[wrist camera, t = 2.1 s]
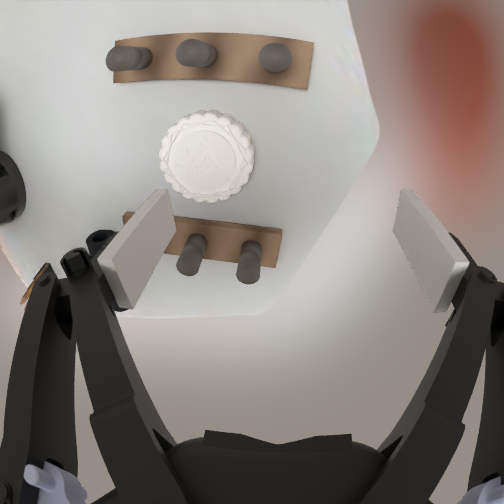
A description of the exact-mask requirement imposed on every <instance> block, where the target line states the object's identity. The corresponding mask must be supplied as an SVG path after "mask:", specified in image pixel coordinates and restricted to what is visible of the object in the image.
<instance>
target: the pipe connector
mask: <svg viewBox="0 0 504 504" xmlns="http://www.w3.org/2000/svg"><path fill="white" fill-rule="evenodd" d="M112 235H114V233H113V231H112V230H98V231H96V232H94V233H92V234H91V235H90V236H89V237H88V238H87V240H86V243H87V246H88V249H89V252H90V255H91V257H89V258H90V260H92V259H93V257H94V256H95V255H96V253H97V252H98V251H99V250H101V247H102V246H103V245H105V242H106V241H107V240H108V239H109V238H110V237H111V236H112ZM111 305H112V307H113V309H114V310H115V311H118V312H122V311H126V310H128V308H119V306H118V304H117V302H116V300H115V299H114V300H113V302H112V304H111Z"/></svg>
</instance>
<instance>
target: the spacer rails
mask: <svg viewBox="0 0 504 504" xmlns="http://www.w3.org/2000/svg"><path fill="white" fill-rule="evenodd" d="M313 45H314V43H313V42H308V41H302V40H296V39H289V38H282V37H274V36H265V35H254V34H239V33H179V34H165V35H154V36H145V37H137V38H130V39H124V40H118V41H115V47H114V48H112V49H111V50H110V51H109V52H108V54H107V57H106V65H107V67H108V69H110V70H111V71H114V78H113V83H120V82H130V81H143V80H161V79H215V80H233V81H246V82H257V83H266V84H274V85H281V86H288V87H295V88H301V89H307V87H308V80H309V73H310V66H311V59H312V52H313ZM134 214H135V212H126V213H125V214H124V215H123V223H124V225H125V224H126V223H127V222H128V220H129V219H130V218H131V217H132V216H133V215H134ZM174 221H175V225H176V232H175V234H174V235H173V237H172V239H171V240H170V242H169V244H168V246H167V247H166V249H165V251H164V253H165V254H173V255H180V257H179V259H178V261H177V264H176V267H177V269H178V271H179V272H180V273H181V274H183V275H185V276H194V275H195V274H197V272H198V270H199V267H200V264H201V261H202V258H203V259H210V260H218V261H226V262H233V263H238V268H237V273H236V276H237V279H238V280H239V281H240V282H242V283H244V284H253V283H255V282H257V281H258V280H259V277H260V266H265V267H273V268H276V263H277V258H278V253H279V248H280V243H281V238H282V229H276V228H269V227H261V226H253V225H245V224H237V223H229V222H220V221H212V220H203V219H194V218H185V217H176V216H174Z"/></svg>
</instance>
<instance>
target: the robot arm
mask: <svg viewBox="0 0 504 504" xmlns="http://www.w3.org/2000/svg"><path fill="white" fill-rule="evenodd" d="M24 207H25V188H24V184H23V180H22V177H21V175H20V172H19V170H18V168H17V166H16V165H15V163H14V162H13V160H12V159H11V158H10V157H9V156H8V155H6V154H5V153H3V152H0V226H3V225H5V224H8V223H11V222H13V221H14V220H15V219H16V218H18V217H19V216H20V215H21V214H22V212H23V210H24ZM175 232H176V225H175V221H174V216H173V212H172V207H171V202H170V198H169V193H168V189H161V190H155V191H154V192H153V194H152V195H151V196H150V197H149V198H148V199H147V200H146V201H145V202H144V203H143V205H142V206H141V207H140V208H139V209H138V210H137V211H136V212H135V214H134V215H133V216H132V217H131V218H130V219H129V220H128V222H127V223H126V224H125V225H124V226H123V228H122V229H121V230H120V231H119V232H116V233H115V234H114V235H112V236H111V237H110V238H109V239H108V240H107V241H106V242H105V245H103V246H102V247H101V250H99V251H98V252H97V253H96V255H95V256H94V257H93V259H92V260H90V258H89V256H88V253H87V251H86V250H85V249H84V248H76V249H73V250H71V251H69V252H68V253H66V254H65V255H64V256H63V257H62V259H61V261H60V264H61V266H62V268H63V270H64V272H65V274H66V276H67V278H63V279H59V280H58V278H57V276H56V274H55V273H54V272H52V271H51V272H46V273H43V274H42V275H40V276H39V277H38V278H37V280H36V281H35V283H34V285H33V288H32V291H31V294H30V297H29V300H28V303H27V306H26V309H25V313H24V316H23V319H22V323H21V327H20V330H19V334H18V339H17V343H16V347H15V351H14V356H13V361H12V366H11V371H10V378H9V383H8V390H7V398H6V408H5V418H4V434H3V439H2V443H1V447H0V504H85V500H86V499H87V492H86V490H85V489H84V488H83V487H82V486H81V483H80V482H79V480H78V479H77V475H78V474H77V473H78V459H77V445H76V433H75V411H74V375H75V374H74V373H75V354H76V341H77V347H78V351H79V356H80V361H81V365H82V369H83V373H84V377H85V381H86V385H87V389H88V392H89V396H90V399H91V402H92V406H93V410H94V413H93V414H91V415H90V423H91V427H92V430H93V433H94V436H95V439H96V441H97V444H98V447H99V449H100V452H101V455H102V457H103V459H104V462H105V464H106V467H107V469H108V472H109V474H110V476H111V478H112V481H113V483H114V485H115V487H116V488H115V489H113V490H112V491H110V492H109V493H107V494H106V495H104V496H103V497H101V498H99V499H98V500H96V501H95V502H93V503H91V504H433V503H432V502H431V501H430V500H429V497H430V496H431V494H432V493H433V491H434V489H435V488H436V486H437V484H438V483H439V481H440V479H441V478H442V476H443V474H444V472H445V470H446V469H447V467H448V465H449V463H450V461H451V459H452V457H453V455H454V453H455V451H456V449H457V447H458V445H459V442H460V440H461V438H462V436H463V433H464V430H465V425H464V424H463V423H462V418H463V415H464V413H465V411H466V408H467V405H468V403H469V400H470V397H471V395H472V392H473V389H474V386H475V383H476V380H477V377H478V373H479V370H480V367H481V363H482V359H483V356H484V352H485V348H486V367H485V385H484V398H483V406H482V414H481V421H480V428H479V434H478V439H477V444H476V449H475V454H474V458H473V462H472V467H471V472H470V476H469V483H468V489H467V493H466V494H465V496H464V497H463V498H462V500H461V501H459V502H458V503H457V504H504V283H502V282H498V281H497V279H496V277H495V275H494V274H493V273H492V272H491V271H490V270H488V269H487V268H484V267H480V266H477V264H476V263H475V261H474V260H473V259H472V257H471V256H470V254H469V253H468V252H467V251H466V249H465V248H464V246H463V245H462V244H461V242H460V241H459V240H458V238H456V237H455V236H454V235H453V234H451V233H448V232H447V231H446V229H445V228H444V227H443V226H442V224H441V223H440V222H439V221H438V219H437V218H436V217H435V216H434V214H433V213H432V212H431V211H430V210H429V208H428V207H427V206H426V205H425V204H424V203H423V201H422V200H421V199H420V198H419V197H418V196H417V195H416V193H415V192H414V191H413V190H404V189H401V192H400V198H399V203H398V209H397V214H396V219H395V224H394V228H393V233H394V234H395V236H396V238H397V240H398V241H399V243H400V245H401V247H402V249H403V251H404V253H405V255H406V257H407V259H408V261H409V263H410V264H411V267H412V269H413V270H414V273H415V275H416V277H417V279H418V281H419V283H420V285H421V287H422V290H423V292H424V294H425V296H426V298H427V301H428V303H429V305H430V308H431V310H432V312H433V313H439V312H446V311H447V310H448V307H449V306H450V304H451V302H452V304H453V306H454V308H455V309H454V310H453V312H452V314H451V316H450V318H449V320H448V321H447V323H446V325H445V326H446V330H445V332H444V334H443V337H442V339H441V342H440V344H439V346H438V348H437V351H436V353H435V355H434V357H433V360H432V361H431V364H430V366H429V368H428V370H427V372H426V374H425V376H424V378H423V380H422V381H421V383H420V385H419V387H418V389H417V391H416V393H415V395H414V396H413V398H412V400H411V402H410V403H409V405H408V407H407V408H406V410H405V412H404V413H403V415H402V416H401V418H400V420H399V421H398V423H397V424H396V426H395V428H394V429H393V430H392V432H391V433H390V435H389V436H388V437H387V438H386V440H385V441H384V442H383V443H382V444H381V445H380V447H379V448H378V449H377V450H375V449H374V448H372V447H370V446H367V445H364V444H362V443H358V442H353V441H352V436H351V434H343V435H327V436H314V437H310V438H306V439H302V440H298V441H294V442H289V443H285V444H272V443H269V442H265V441H262V440H258V439H255V438H252V437H249V436H246V435H242V434H236V433H226V432H218V431H210V430H205V434H204V437H200V438H195V439H191V440H188V441H184V442H182V443H179V444H177V443H176V442H175V440H174V439H173V437H172V436H171V434H170V433H169V432H168V430H167V429H166V427H165V425H164V423H163V422H162V420H161V418H160V416H159V414H158V412H157V410H156V408H155V407H154V405H153V402H152V400H151V398H150V396H149V394H148V392H147V390H146V388H145V386H144V384H143V381H142V379H141V377H140V375H139V373H138V371H137V368H136V366H135V363H134V361H133V359H132V356H131V354H130V352H129V349H128V347H127V344H126V341H125V339H124V336H123V334H122V331H121V328H120V325H119V323H118V320H117V317H116V314H115V311H114V309H113V307H112V305H111V304H112V302H113V300H114V299H115V300H116V302H117V304H118V306H119V308H128V309H133V308H134V306H135V305H136V303H137V301H138V299H139V297H140V295H141V293H142V291H143V289H144V287H145V285H146V284H147V282H148V280H149V278H150V276H151V274H152V272H153V271H154V269H155V267H156V265H157V263H158V262H159V260H160V258H161V256H162V254H163V253H164V251H165V249H166V247H167V246H168V244H169V242H170V240H171V239H172V237H173V235H174V234H175Z"/></svg>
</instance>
